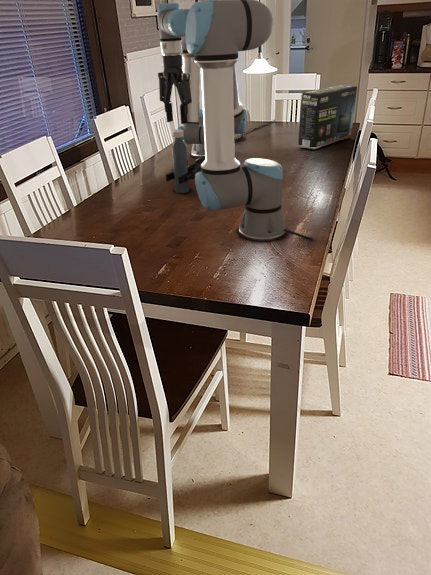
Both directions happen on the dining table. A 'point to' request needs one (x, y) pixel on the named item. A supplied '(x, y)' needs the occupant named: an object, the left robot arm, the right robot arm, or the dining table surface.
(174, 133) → the cap
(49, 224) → the dining table surface
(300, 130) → the router box
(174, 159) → the bottle
